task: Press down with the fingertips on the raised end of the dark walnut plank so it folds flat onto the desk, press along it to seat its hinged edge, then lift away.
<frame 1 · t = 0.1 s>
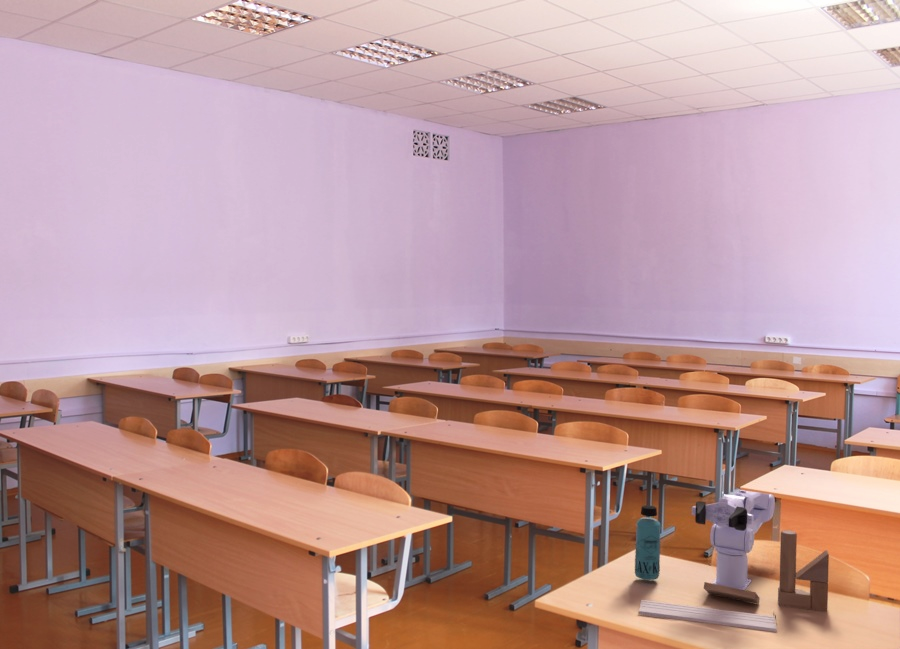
hand: (713, 520, 187), 22 cm above the table, tool horizontal, fingers open, 7 cm apart
wooden block: (802, 607, 190), on the table
beverage bottle: (647, 582, 206), on the table
baseboard: (706, 618, 184), on the table
plank: (731, 593, 192), point 2 cm above the table, hinge at 30.0°
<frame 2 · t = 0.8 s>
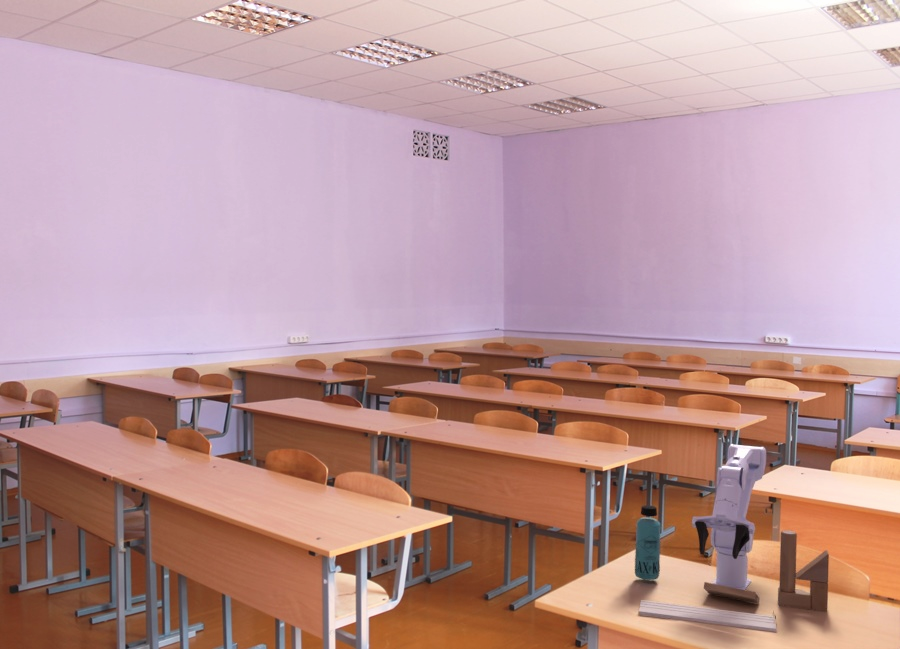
hand: (717, 554, 186), 14 cm above the table, tool tilted 50°, fingers open, 7 cm apart
nothing on the table moved.
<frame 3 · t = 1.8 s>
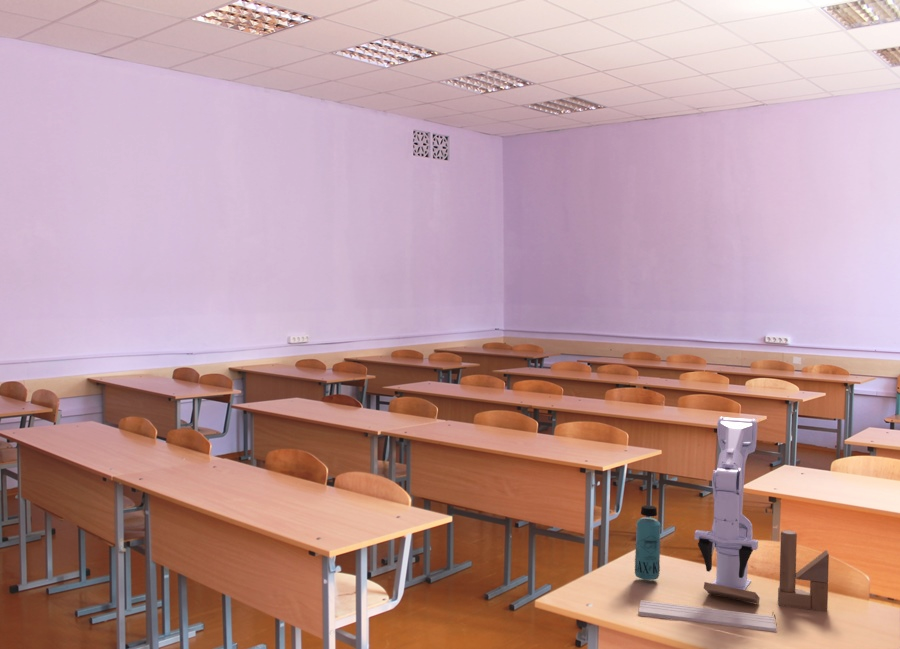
hand: (725, 573, 190), 8 cm above the table, tool pointing down, fingers open, 7 cm apart
nothing on the table moved.
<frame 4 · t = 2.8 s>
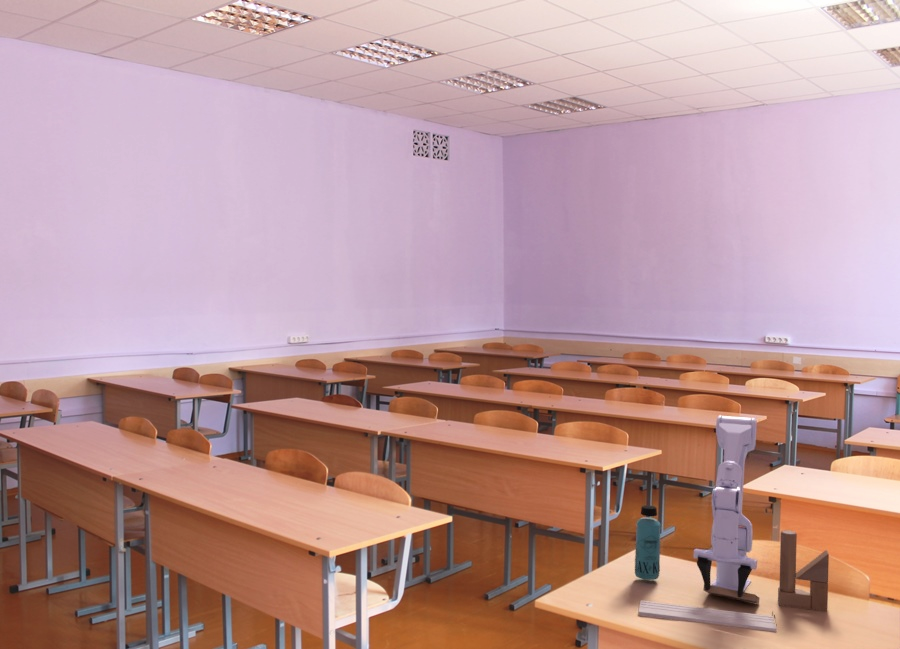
hand: (723, 592, 189), 3 cm above the table, tool pointing down
plank: (731, 594, 192), point 2 cm above the table, hinge at 25.0°, touching gripper
everything else where it was.
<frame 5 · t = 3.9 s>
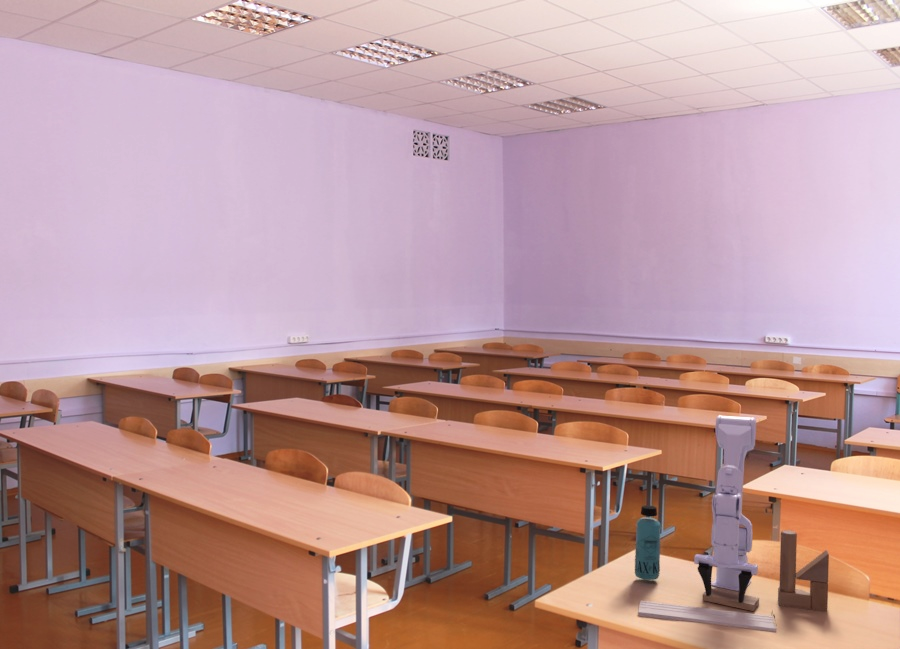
hand: (724, 598, 190), 2 cm above the table, tool pointing down
plank: (730, 599, 191), point 1 cm above the table, hinge at 2.3°, touching gripper
everything else where it was.
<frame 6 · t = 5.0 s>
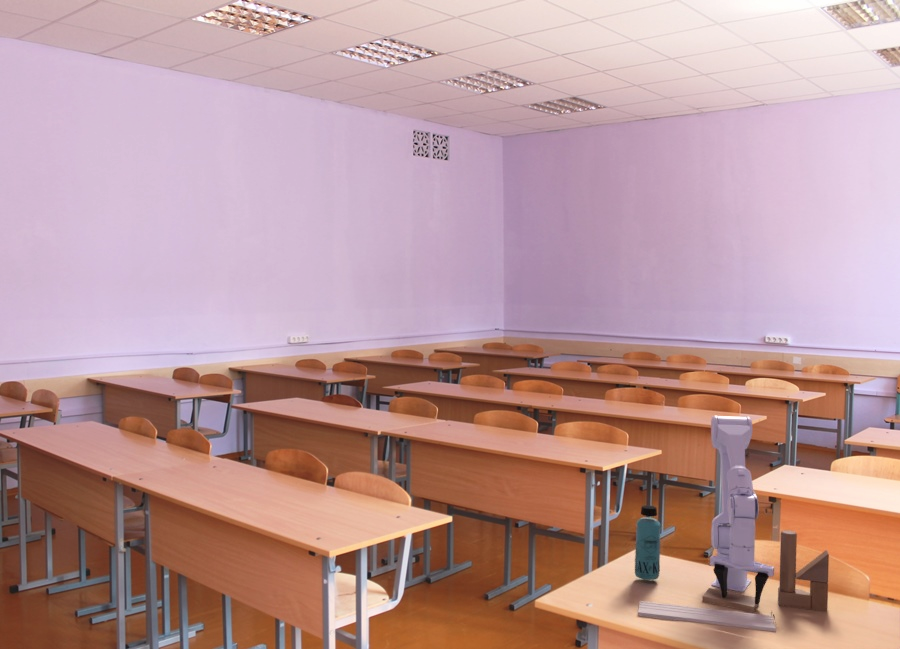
hand: (740, 599, 189), 2 cm above the table, tool pointing down, fingers open, 7 cm apart
plank: (730, 600, 191), point 1 cm above the table, hinge at -2.1°
everything else where it was.
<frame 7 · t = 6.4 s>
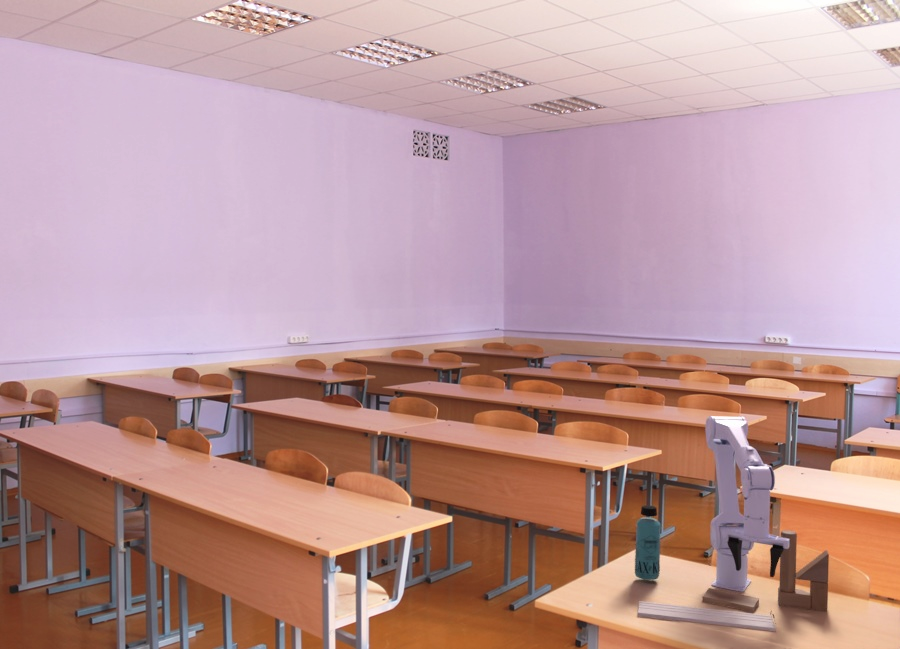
hand: (755, 572, 186), 9 cm above the table, tool pointing down, fingers open, 7 cm apart
plank: (730, 600, 191), point 1 cm above the table, hinge at -2.8°
everything else where it was.
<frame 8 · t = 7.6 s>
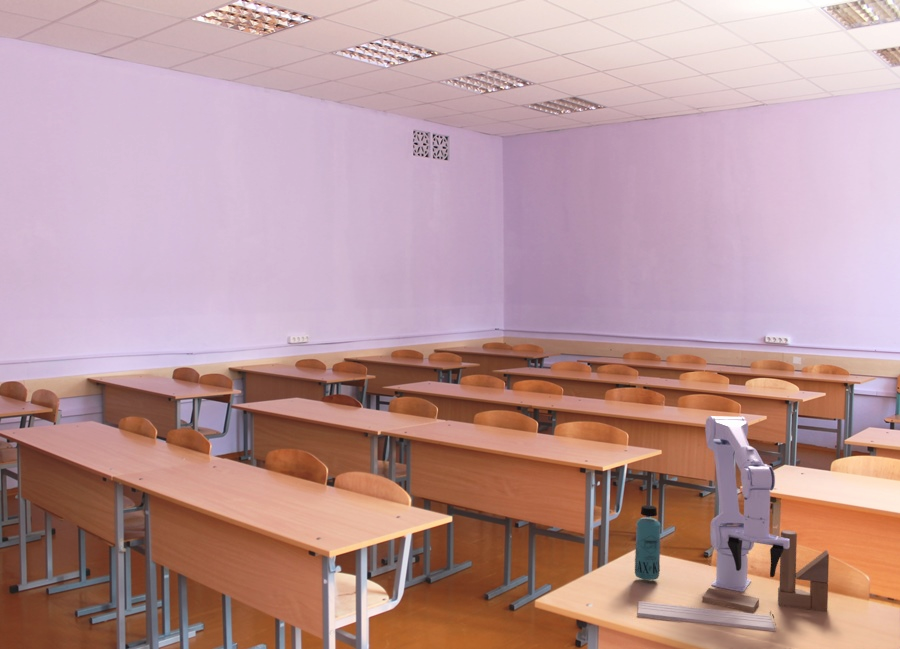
hand: (755, 572, 186), 9 cm above the table, tool pointing down, fingers open, 7 cm apart
nothing on the table moved.
at the end: plank at -3° (first picture: +30°); baseboard moved 1.1 cm from its start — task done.
